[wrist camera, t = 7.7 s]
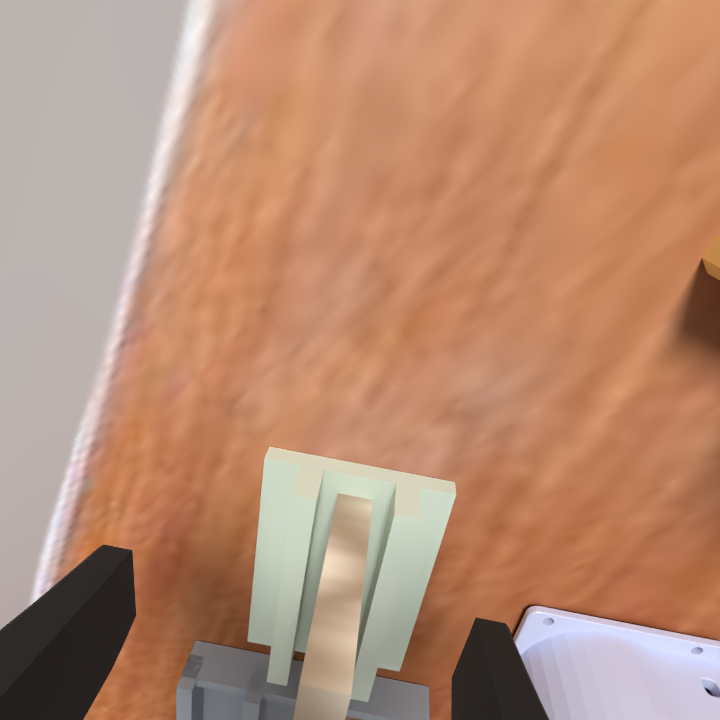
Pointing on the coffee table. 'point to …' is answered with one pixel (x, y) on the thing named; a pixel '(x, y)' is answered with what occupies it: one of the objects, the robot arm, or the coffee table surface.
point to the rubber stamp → (713, 260)
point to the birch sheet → (336, 615)
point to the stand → (308, 548)
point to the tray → (274, 690)
